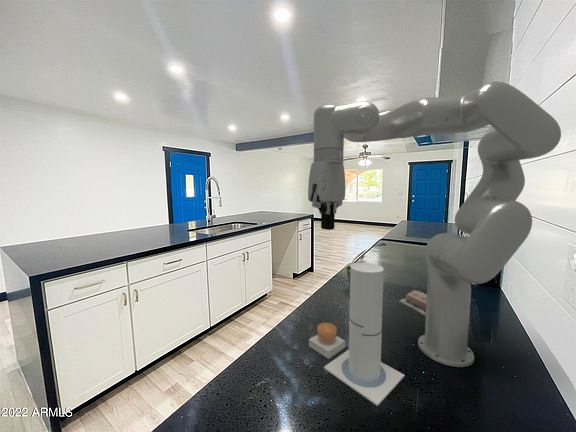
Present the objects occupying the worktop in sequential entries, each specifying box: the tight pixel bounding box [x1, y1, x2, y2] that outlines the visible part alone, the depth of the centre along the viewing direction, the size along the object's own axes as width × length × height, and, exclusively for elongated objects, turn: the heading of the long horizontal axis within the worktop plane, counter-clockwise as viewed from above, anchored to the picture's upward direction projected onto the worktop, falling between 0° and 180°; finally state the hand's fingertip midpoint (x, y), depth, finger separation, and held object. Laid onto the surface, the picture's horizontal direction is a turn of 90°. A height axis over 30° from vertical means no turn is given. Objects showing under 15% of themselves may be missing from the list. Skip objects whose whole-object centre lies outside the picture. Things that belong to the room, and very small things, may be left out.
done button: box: [316, 322, 338, 340], centre depth 67 cm, size 5×5×2 cm
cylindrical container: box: [348, 262, 385, 382], centre depth 57 cm, size 7×7×25 cm
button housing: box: [308, 333, 346, 360], centre depth 68 cm, size 7×7×2 cm
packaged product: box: [398, 289, 427, 317], centre depth 88 cm, size 18×5×10 cm
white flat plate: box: [323, 349, 405, 407], centre depth 58 cm, size 12×14×1 cm
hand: (327, 228), depth 65 cm, fingers closed
